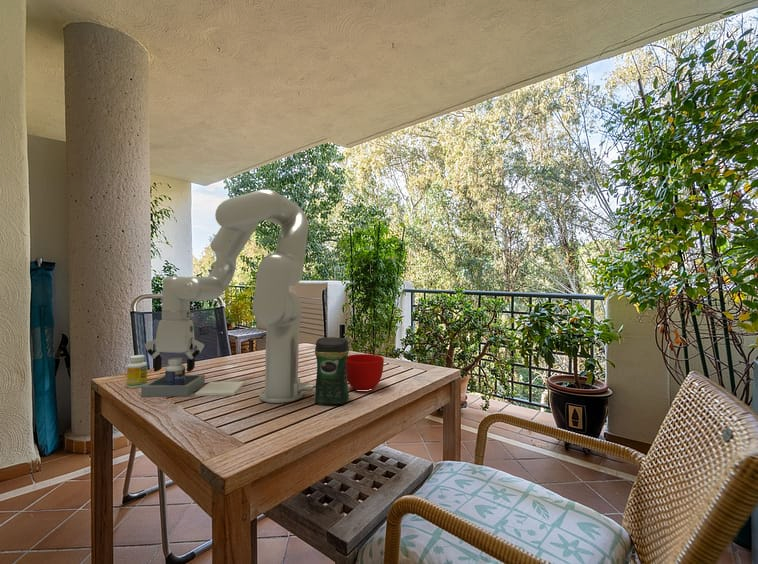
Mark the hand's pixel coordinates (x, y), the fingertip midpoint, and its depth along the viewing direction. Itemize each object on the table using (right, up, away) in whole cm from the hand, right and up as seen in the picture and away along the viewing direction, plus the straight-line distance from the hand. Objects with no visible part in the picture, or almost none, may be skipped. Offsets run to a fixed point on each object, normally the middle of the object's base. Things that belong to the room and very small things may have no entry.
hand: (173, 370), depth 112 cm
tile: (+14, -6, +1) cm, 16 cm away
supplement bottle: (-14, -6, +4) cm, 16 cm away
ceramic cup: (+59, -7, +7) cm, 60 cm away
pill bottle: (0, -6, 0) cm, 6 cm away
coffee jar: (+50, -7, -8) cm, 52 cm away
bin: (0, -6, 0) cm, 6 cm away
